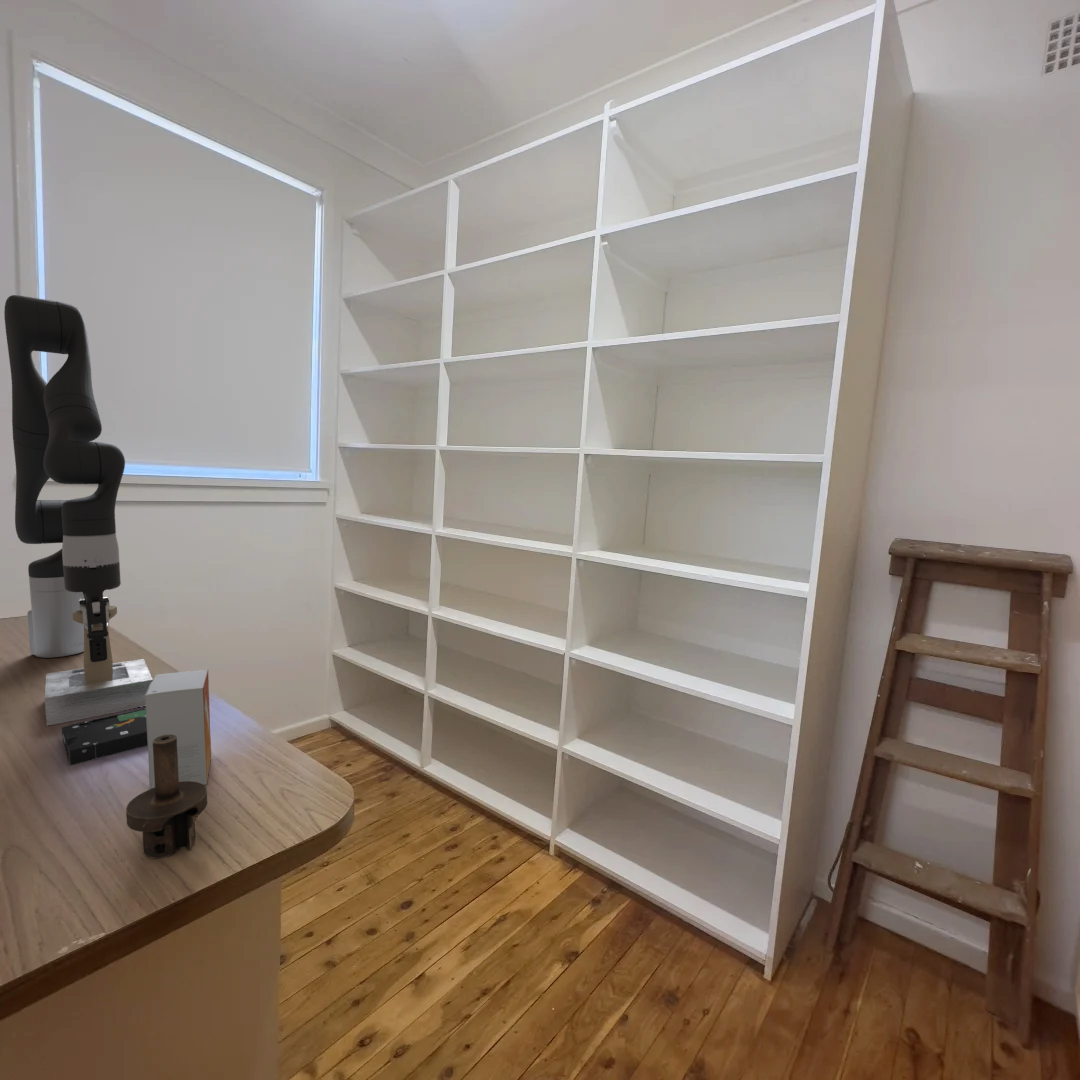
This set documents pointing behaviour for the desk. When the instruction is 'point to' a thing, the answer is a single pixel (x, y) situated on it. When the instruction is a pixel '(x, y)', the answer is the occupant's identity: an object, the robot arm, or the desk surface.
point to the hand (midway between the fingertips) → (97, 654)
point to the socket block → (95, 692)
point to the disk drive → (105, 736)
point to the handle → (92, 670)
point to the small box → (181, 721)
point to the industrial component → (167, 804)
